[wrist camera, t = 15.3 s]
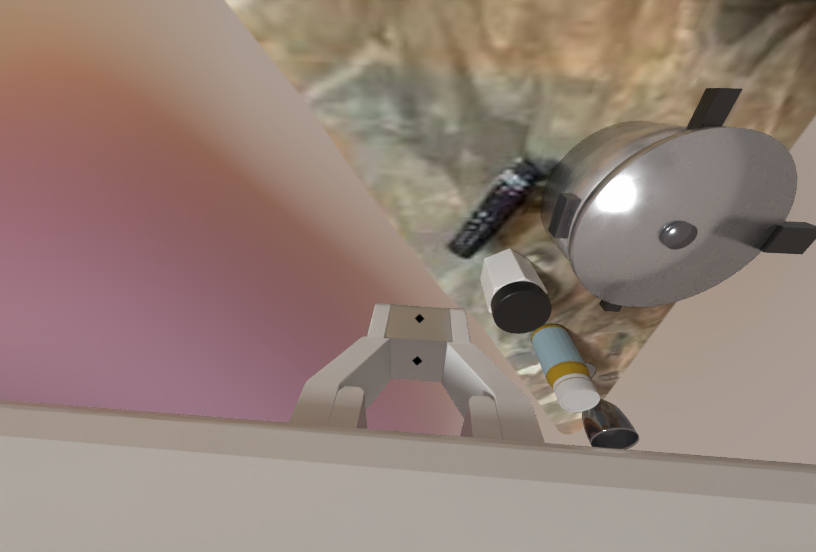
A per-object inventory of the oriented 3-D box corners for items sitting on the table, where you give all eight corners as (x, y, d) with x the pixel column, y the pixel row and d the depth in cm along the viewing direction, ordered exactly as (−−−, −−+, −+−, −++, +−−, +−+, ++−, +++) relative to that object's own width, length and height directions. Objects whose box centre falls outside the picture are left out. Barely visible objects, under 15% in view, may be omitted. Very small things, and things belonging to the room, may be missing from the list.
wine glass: (553, 380, 67) (582, 448, 54) (571, 358, 62) (606, 426, 50) (586, 386, 67) (622, 455, 54) (605, 364, 63) (649, 433, 50)
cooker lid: (609, 122, 28) (624, 124, 26) (878, 130, 27) (915, 134, 25) (547, 296, 39) (553, 307, 37) (733, 306, 38) (750, 318, 36)
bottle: (548, 351, 62) (578, 418, 49) (522, 338, 60) (547, 404, 47) (573, 331, 58) (613, 397, 45) (547, 317, 56) (581, 382, 44)
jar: (521, 291, 54) (542, 338, 44) (477, 289, 54) (488, 334, 44) (534, 249, 49) (561, 290, 39) (485, 246, 49) (500, 286, 39)
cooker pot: (562, 86, 36) (612, 84, 26) (738, 91, 35) (861, 91, 25) (513, 268, 51) (534, 311, 41) (637, 274, 50) (689, 321, 40)
